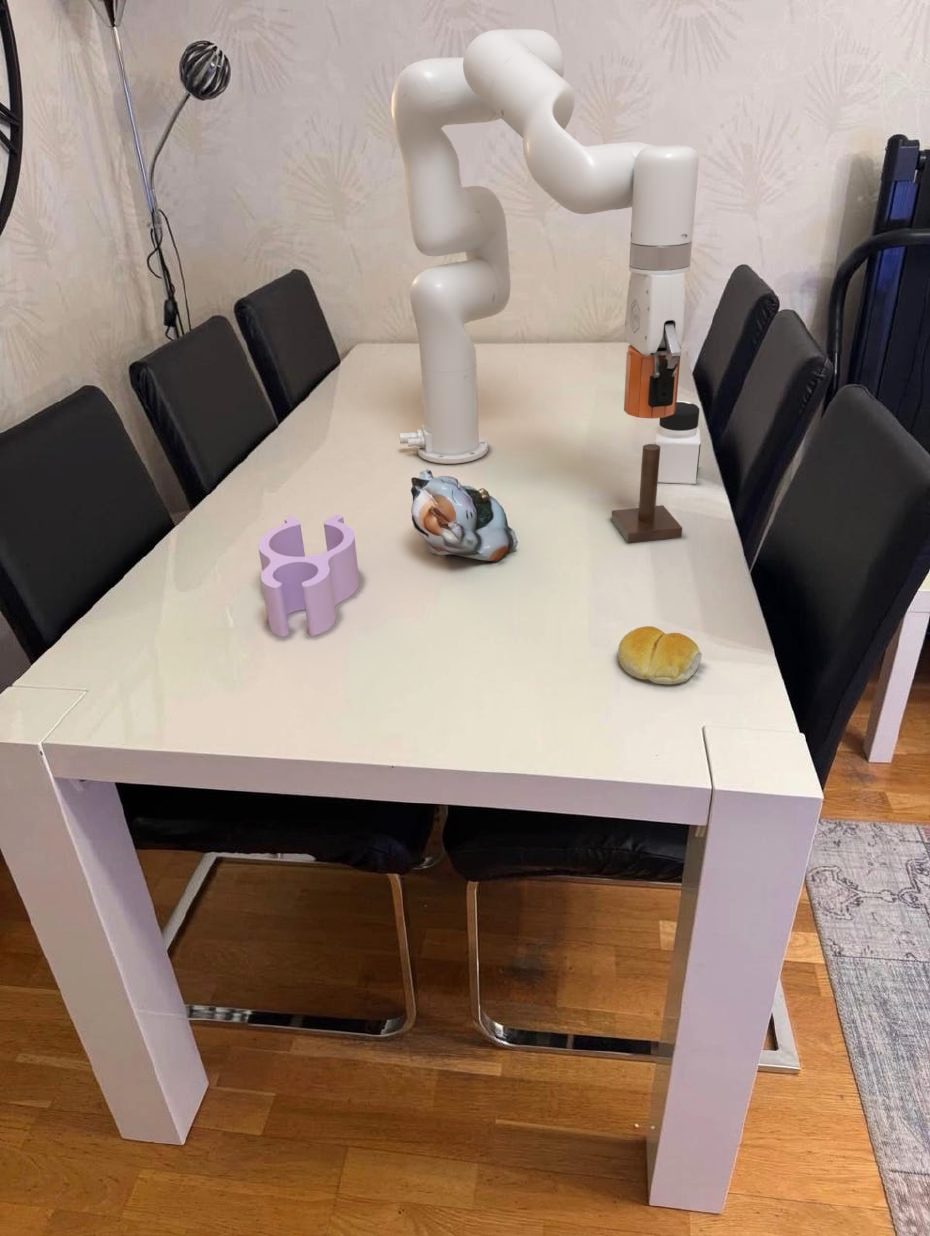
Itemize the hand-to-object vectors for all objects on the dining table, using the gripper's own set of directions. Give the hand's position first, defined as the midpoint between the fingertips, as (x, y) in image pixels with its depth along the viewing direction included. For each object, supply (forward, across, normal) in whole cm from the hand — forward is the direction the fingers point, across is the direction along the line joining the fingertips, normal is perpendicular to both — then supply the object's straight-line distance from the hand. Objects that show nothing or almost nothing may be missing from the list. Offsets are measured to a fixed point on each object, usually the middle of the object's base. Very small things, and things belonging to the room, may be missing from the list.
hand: (650, 396), depth 121 cm
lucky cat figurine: (+20, +1, -26) cm, 33 cm away
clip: (+20, +9, -48) cm, 53 cm away
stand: (+20, 0, 0) cm, 20 cm away
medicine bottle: (+20, -18, +12) cm, 29 cm away
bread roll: (+20, +34, -9) cm, 41 cm away
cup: (+2, 0, 0) cm, 2 cm away
